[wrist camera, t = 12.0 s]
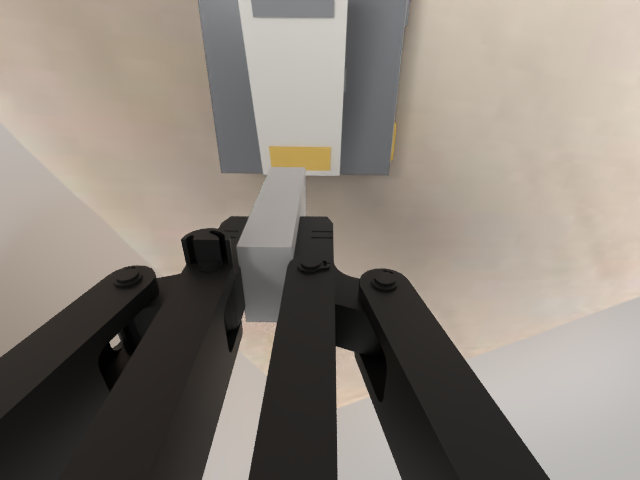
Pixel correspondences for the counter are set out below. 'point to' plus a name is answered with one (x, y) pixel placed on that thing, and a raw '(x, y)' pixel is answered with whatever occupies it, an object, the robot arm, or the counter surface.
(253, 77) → the rocker
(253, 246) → the robot arm
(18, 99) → the counter surface
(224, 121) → the switch unit
